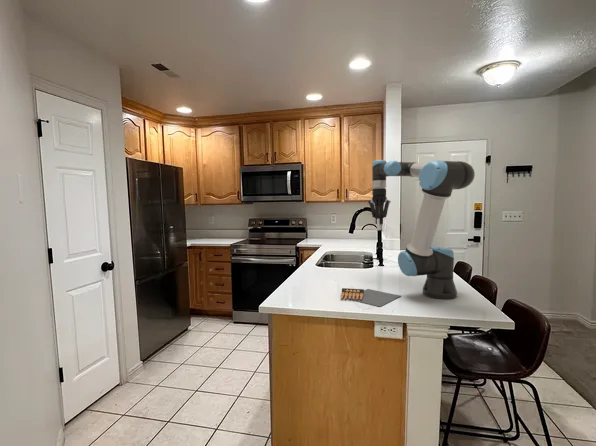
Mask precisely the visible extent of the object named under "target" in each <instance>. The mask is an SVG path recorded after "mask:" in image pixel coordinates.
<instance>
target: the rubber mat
mask: <svg viewBox="0 0 596 446" xmlns="http://www.w3.org/2000/svg"><path fill="white" fill-rule="evenodd" d="M348 297H349V296H348ZM348 297H347V299H346V300H349V301H353V302H357V303H360V304H365V305H369V306H373V307H377V308H381V307H383V306H386V305H387V304H390V303H391V302H393V301H395V300H397V299H399V298H401V297H402V295H399V294H396V293H390V292H385V291H379V290H376V289H370V288H367V289H364V295H363V298H362V300H360V296H359V299H358V300H357V299H356V297H355V299H354V300H353V299H352V297H351V299H349V298H348Z"/></svg>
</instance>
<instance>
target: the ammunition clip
mask: <svg viewBox="0 0 596 446" xmlns="http://www.w3.org/2000/svg"><path fill="white" fill-rule="evenodd" d="M364 290H365V289H364V288H344V287H343V288H342V287H341V292H340V293H341V294H340V299H345V300H349V299H351V297H352V299H353V300H354V299H355V297H356V299H357V300H358V299H359V296H360V300H362V298H363V295H364ZM347 297H348V298H349V299H347ZM353 300H352V301H353Z"/></svg>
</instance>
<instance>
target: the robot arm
mask: <svg viewBox="0 0 596 446" xmlns="http://www.w3.org/2000/svg"><path fill="white" fill-rule="evenodd" d="M371 170H372V172H371V173H372V174H371V175H372V181H371V182H372V185H371V186H372V189H371V190H372V197H371V199H370V200H368V205H369V207H370V212H371V215H372V216H371V217H372V218H374V219H375V225H376V231H382V229H383V228H382V226H383V224H384V219H385V218H387V216H388V211H389V210H388V209H389V207H390V206H389V205H390V204H391V200H389V199H388V198H387V177H410V178H418V181H419V182H418V183H419V187H421V192H422V193H423V199H422V201H421V205H420V209H419V213H418V216H417V220H416V224H415V228H414V231H413V235H412V239H411V242H410V243H407V244H406V248H405V249H404V250H402V251H401V252H399V254H397V255H398V256H397V263H398V268H399V269H400V271H401V273H402V274H404V276H407V277H418V276H426V279H425V282H424V284H423V286H422V294H423V295H424V296H425V297H429V298H433V299H438V300H451V299H452V300H453V299H456V298H457V297H458V290H457V288H456V284H455V282H454V265H455V264H454V262H455V257H454V250H452V249H451V248H447V247H441V246H433V241H434V238H435V235H436V232H437V229H438V225H439V222H440V219H441V216H442V212H443V208H444V206H445V202H446V200H447V199H448V198H451V196H452V193H453V191H454V190H462V189H465V188H467V187H469V186H470V185H471V184H472V183H473V182H474V179H475V176H476V174H475V169H474V168H473V166H472V165H471V164H470V163H467V162H465V161H462V160H461V161H458V160H456V161H453V160H432V161H428V162H427V163H424V162H418V161H417V162H416V161H415V162H414V161H413V162H411V161H409V162H407V161H397V160H390V161H386V160H385V159H378V160H377V159H376V160H373V162H372V167H371Z"/></svg>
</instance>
